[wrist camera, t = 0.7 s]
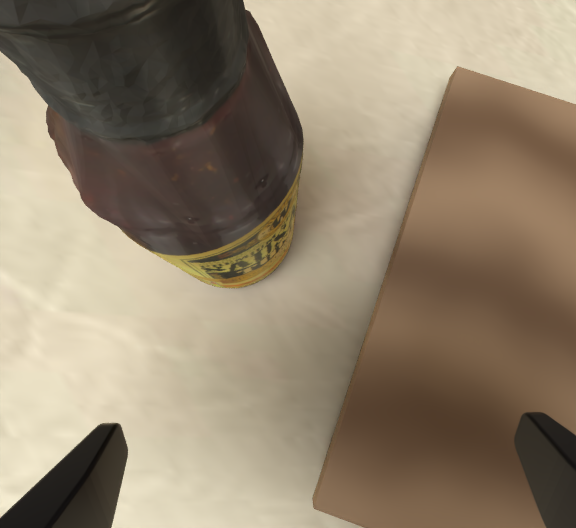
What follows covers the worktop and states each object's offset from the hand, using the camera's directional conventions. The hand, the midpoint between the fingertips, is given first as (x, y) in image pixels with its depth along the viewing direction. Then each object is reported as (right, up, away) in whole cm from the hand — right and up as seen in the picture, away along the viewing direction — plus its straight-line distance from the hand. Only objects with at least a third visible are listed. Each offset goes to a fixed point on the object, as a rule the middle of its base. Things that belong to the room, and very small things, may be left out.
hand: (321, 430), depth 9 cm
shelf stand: (+11, +1, +13) cm, 17 cm away
